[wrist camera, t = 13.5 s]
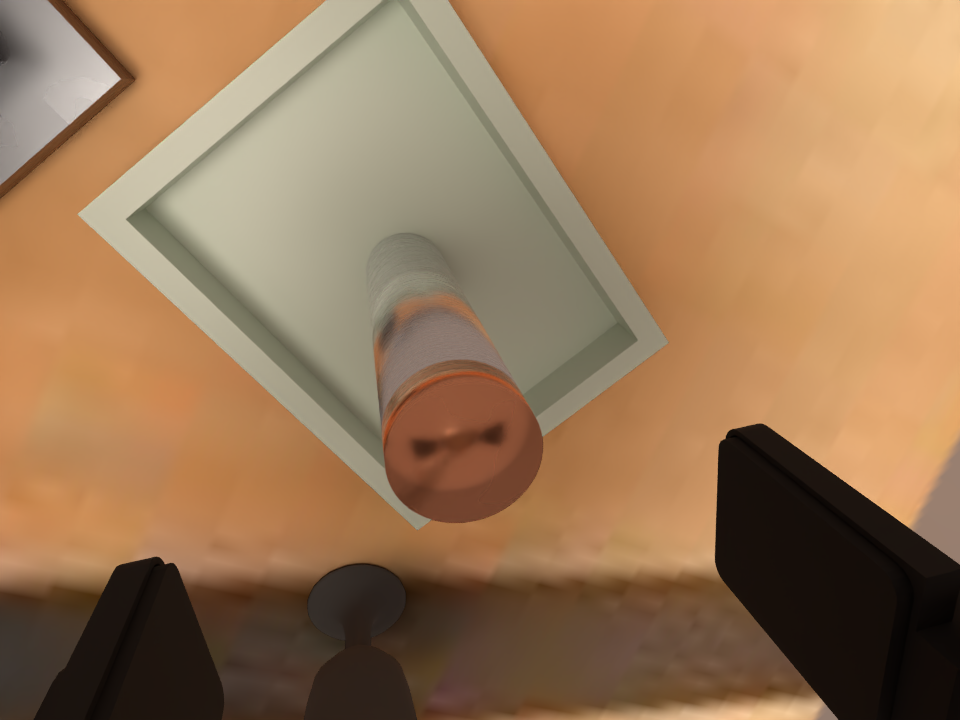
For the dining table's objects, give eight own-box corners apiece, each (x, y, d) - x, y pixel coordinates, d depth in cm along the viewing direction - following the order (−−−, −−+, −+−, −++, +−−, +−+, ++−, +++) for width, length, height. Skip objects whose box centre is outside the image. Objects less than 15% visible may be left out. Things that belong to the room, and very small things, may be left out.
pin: (439, 227, 25) (537, 369, 12) (450, 303, 26) (548, 504, 13) (358, 239, 24) (371, 400, 12) (373, 316, 26) (399, 537, 13)
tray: (640, 320, 29) (668, 342, 26) (411, 493, 30) (417, 530, 28) (397, -48, 22) (404, -67, 19) (107, 200, 23) (77, 214, 20)
